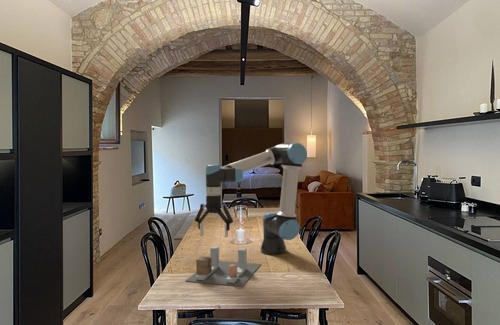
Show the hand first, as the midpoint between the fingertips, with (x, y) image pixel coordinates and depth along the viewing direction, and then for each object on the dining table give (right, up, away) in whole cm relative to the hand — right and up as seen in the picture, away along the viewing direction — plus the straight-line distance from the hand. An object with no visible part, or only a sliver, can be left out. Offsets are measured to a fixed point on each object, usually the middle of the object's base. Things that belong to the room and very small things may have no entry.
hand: (214, 236), depth 191 cm
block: (-4, -15, -12) cm, 20 cm away
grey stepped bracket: (-2, -17, -8) cm, 19 cm away
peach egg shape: (+11, -15, -18) cm, 26 cm away
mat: (+6, -17, -6) cm, 19 cm away
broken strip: (+12, -17, -12) cm, 24 cm away
